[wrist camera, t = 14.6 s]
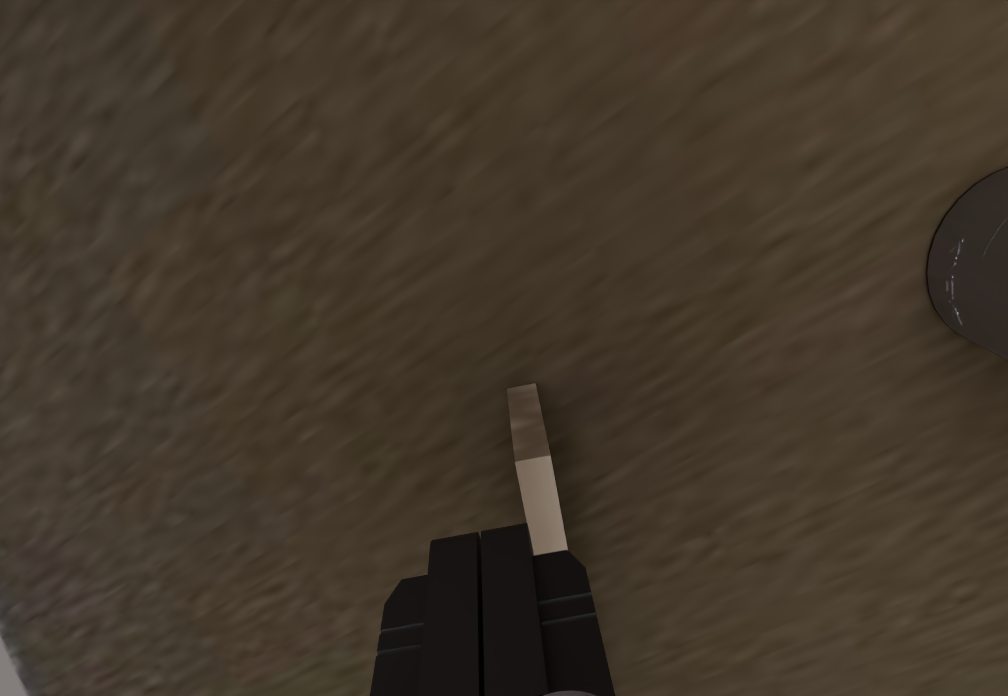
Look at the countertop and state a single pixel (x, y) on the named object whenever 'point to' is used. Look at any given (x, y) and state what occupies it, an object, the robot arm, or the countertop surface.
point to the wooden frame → (535, 470)
